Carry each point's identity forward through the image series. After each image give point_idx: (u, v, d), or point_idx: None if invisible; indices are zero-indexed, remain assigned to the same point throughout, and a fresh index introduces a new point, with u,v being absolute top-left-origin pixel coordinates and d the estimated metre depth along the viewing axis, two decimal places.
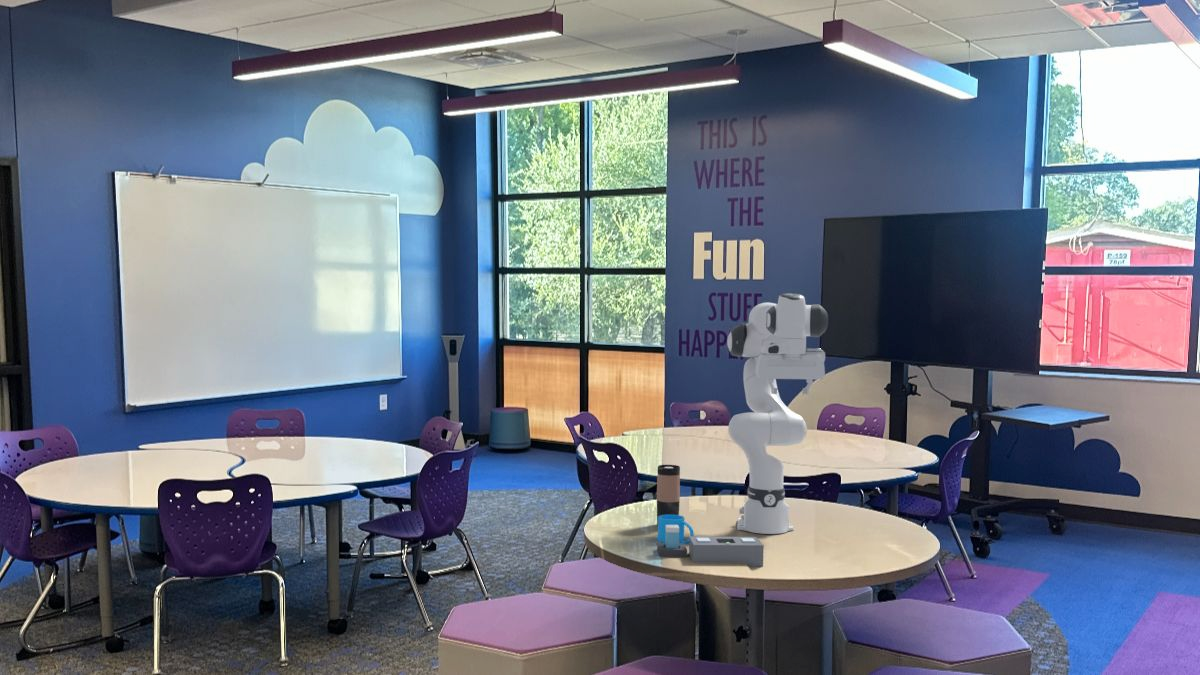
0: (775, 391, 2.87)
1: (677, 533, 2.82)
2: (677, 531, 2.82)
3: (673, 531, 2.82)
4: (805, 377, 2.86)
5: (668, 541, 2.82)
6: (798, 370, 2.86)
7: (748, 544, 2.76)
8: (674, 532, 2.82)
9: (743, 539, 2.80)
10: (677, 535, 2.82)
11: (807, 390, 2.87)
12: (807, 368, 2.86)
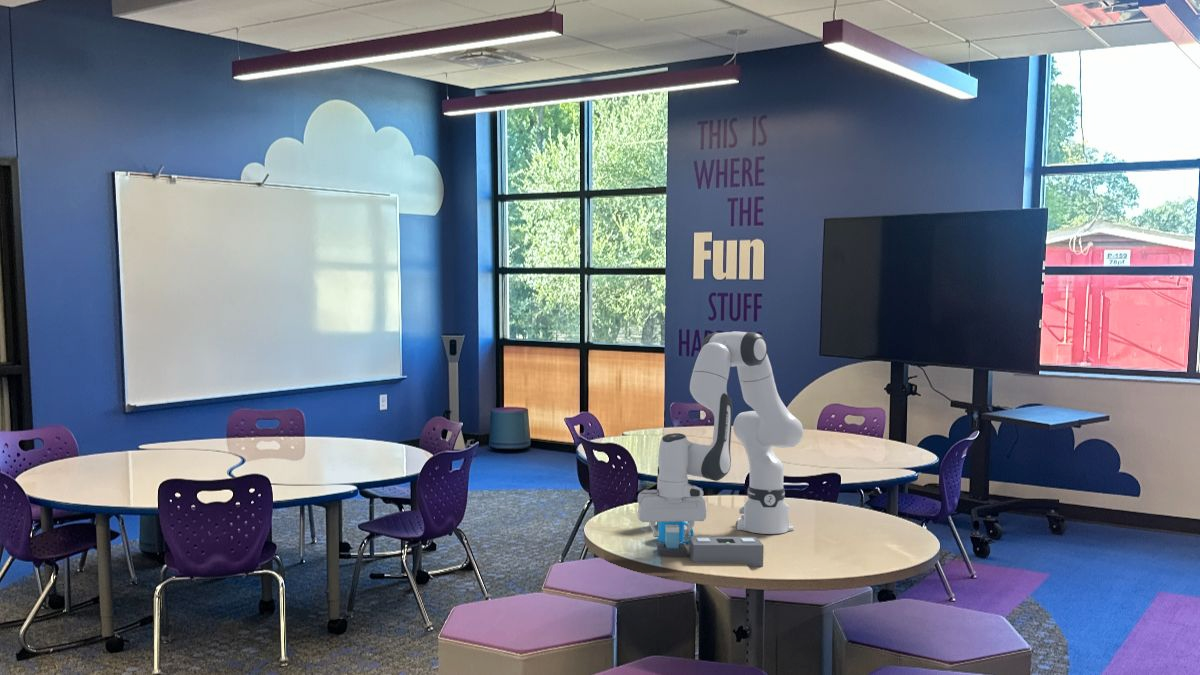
0: None
1: (677, 533, 2.82)
2: (677, 531, 2.82)
3: (673, 531, 2.82)
4: None
5: (668, 541, 2.82)
6: None
7: (748, 544, 2.76)
8: (674, 532, 2.82)
9: (743, 539, 2.80)
10: (677, 535, 2.82)
11: None
12: None
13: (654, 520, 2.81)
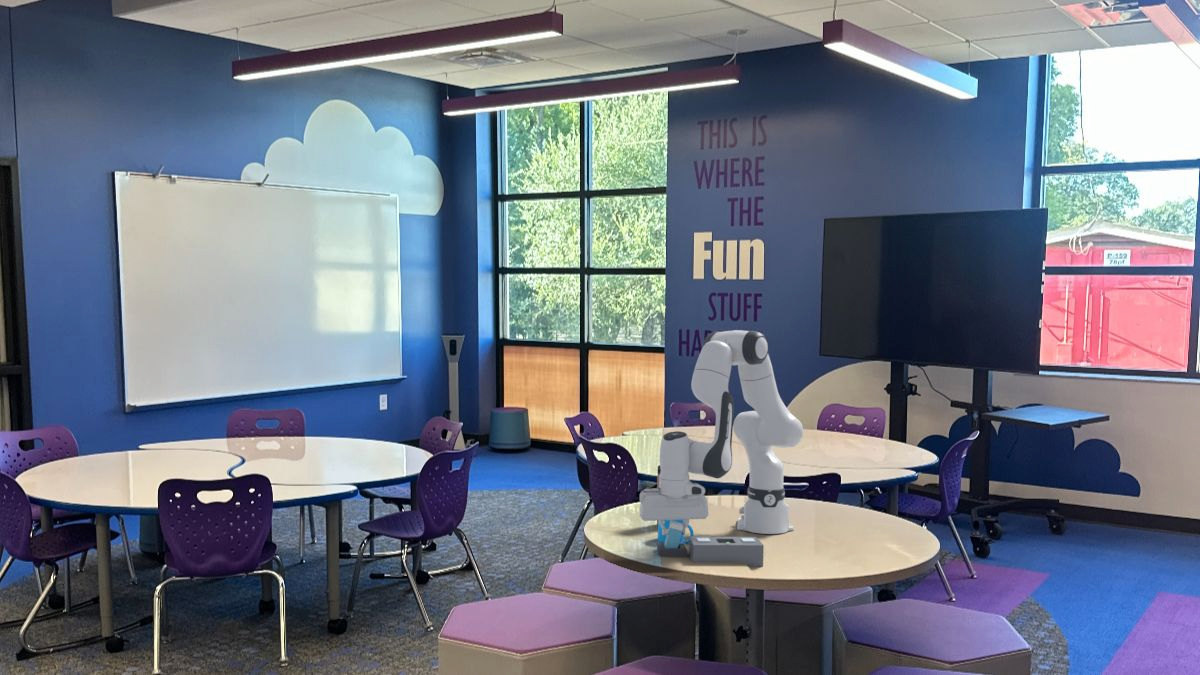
0: None
1: (680, 531, 2.82)
2: (681, 529, 2.82)
3: (677, 528, 2.82)
4: None
5: (670, 537, 2.82)
6: None
7: (748, 544, 2.76)
8: (677, 529, 2.82)
9: (743, 539, 2.80)
10: (679, 533, 2.82)
11: None
12: None
13: (656, 519, 2.81)
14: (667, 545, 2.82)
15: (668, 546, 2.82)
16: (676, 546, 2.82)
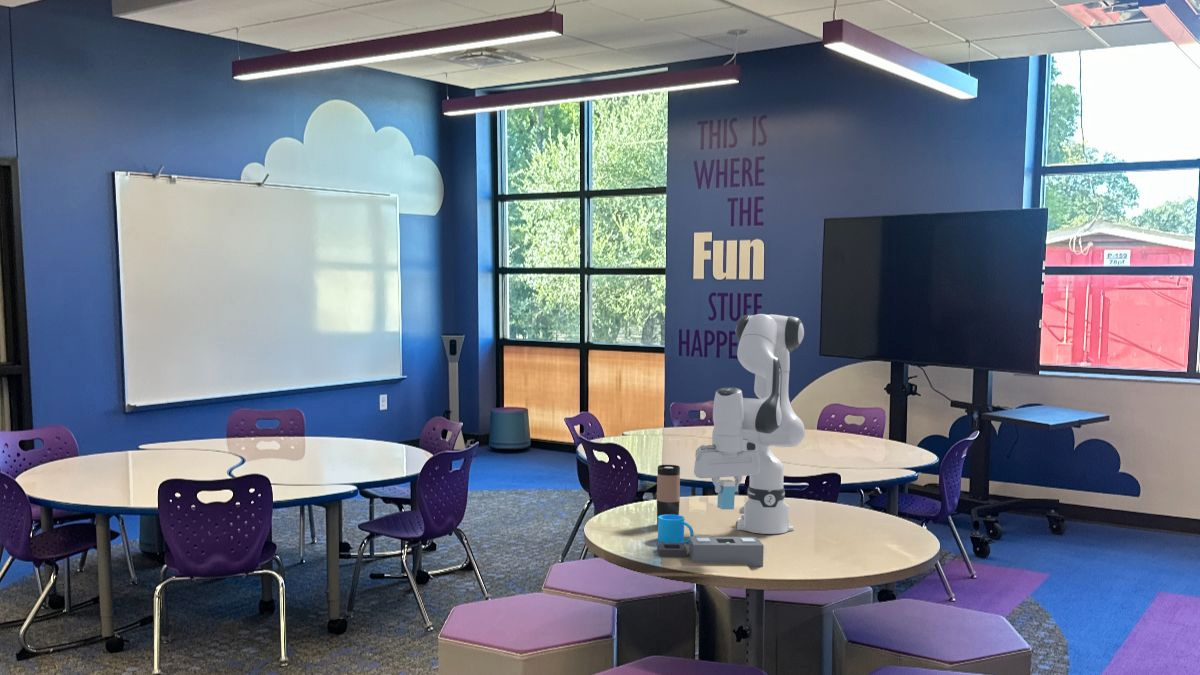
0: None
1: (733, 487, 2.78)
2: (733, 485, 2.78)
3: (729, 485, 2.77)
4: None
5: (724, 495, 2.77)
6: None
7: (748, 544, 2.76)
8: (730, 486, 2.78)
9: (743, 539, 2.80)
10: (733, 489, 2.78)
11: None
12: None
13: (712, 476, 2.75)
14: (723, 505, 2.77)
15: (725, 505, 2.77)
16: (732, 503, 2.78)
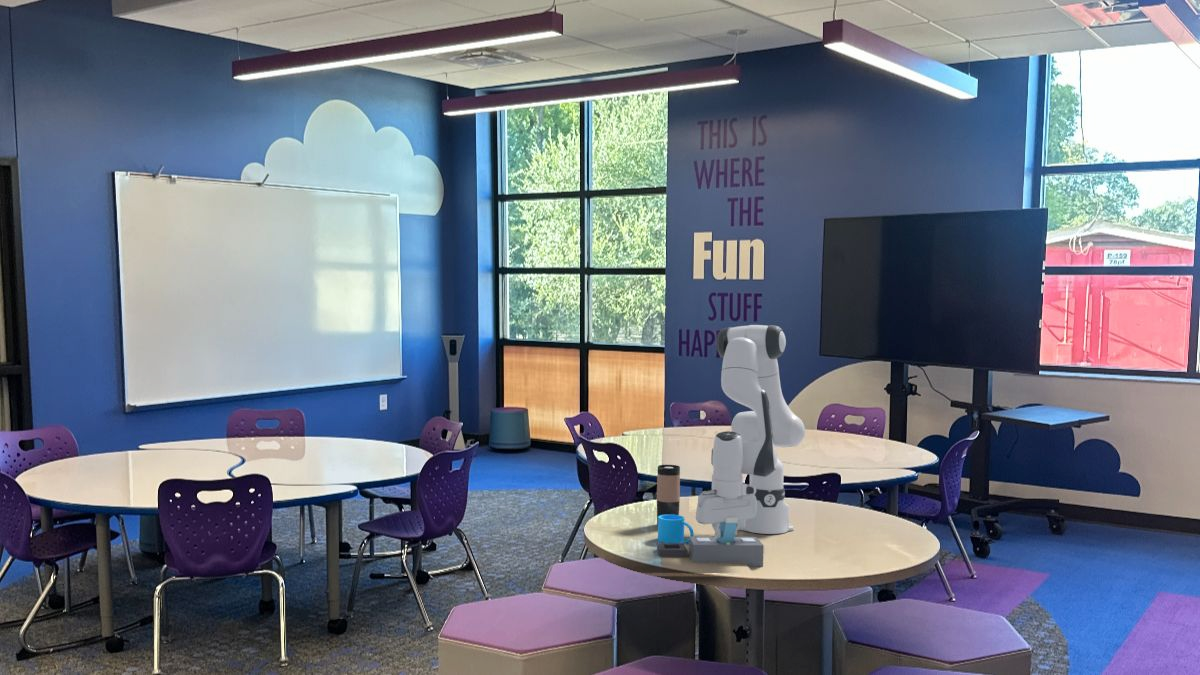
0: None
1: (735, 523, 2.77)
2: (735, 521, 2.77)
3: (732, 521, 2.77)
4: None
5: (726, 531, 2.77)
6: None
7: (748, 544, 2.76)
8: (732, 522, 2.77)
9: (743, 539, 2.80)
10: (734, 525, 2.78)
11: None
12: None
13: (715, 521, 2.75)
14: (724, 540, 2.77)
15: (725, 540, 2.77)
16: (732, 538, 2.78)
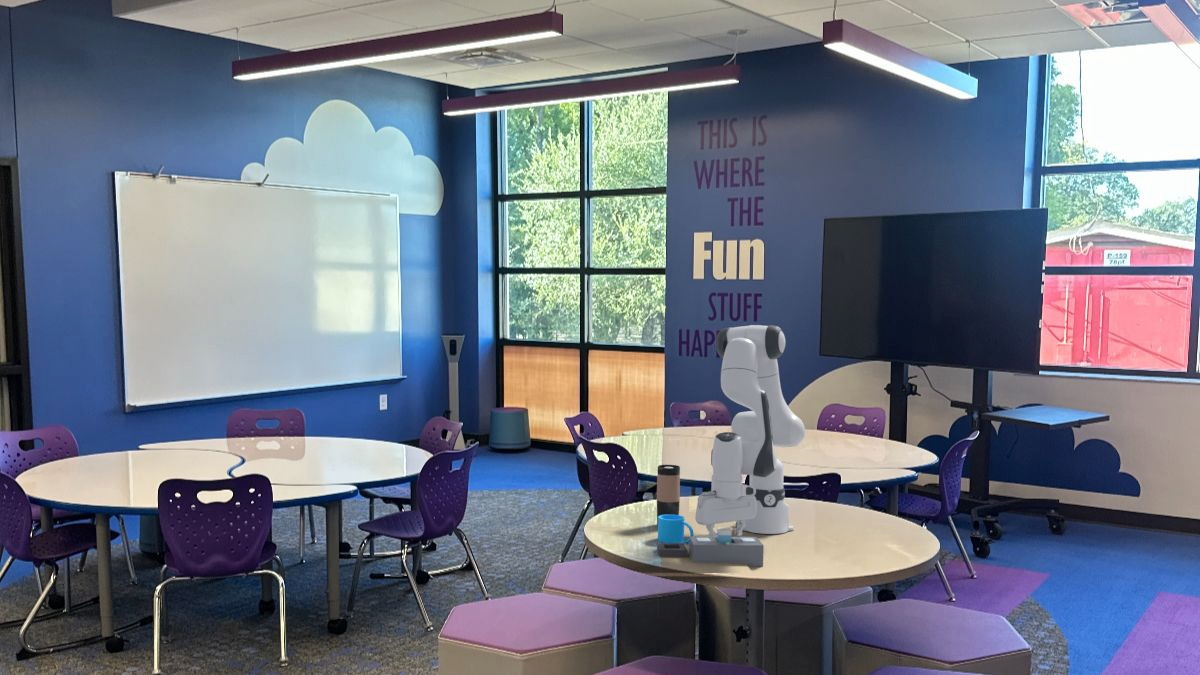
0: None
1: (729, 536, 2.78)
2: (729, 534, 2.78)
3: (725, 534, 2.78)
4: None
5: None
6: None
7: (748, 544, 2.76)
8: (726, 535, 2.78)
9: (743, 539, 2.80)
10: (729, 538, 2.78)
11: None
12: None
13: (714, 522, 2.75)
14: None
15: None
16: None
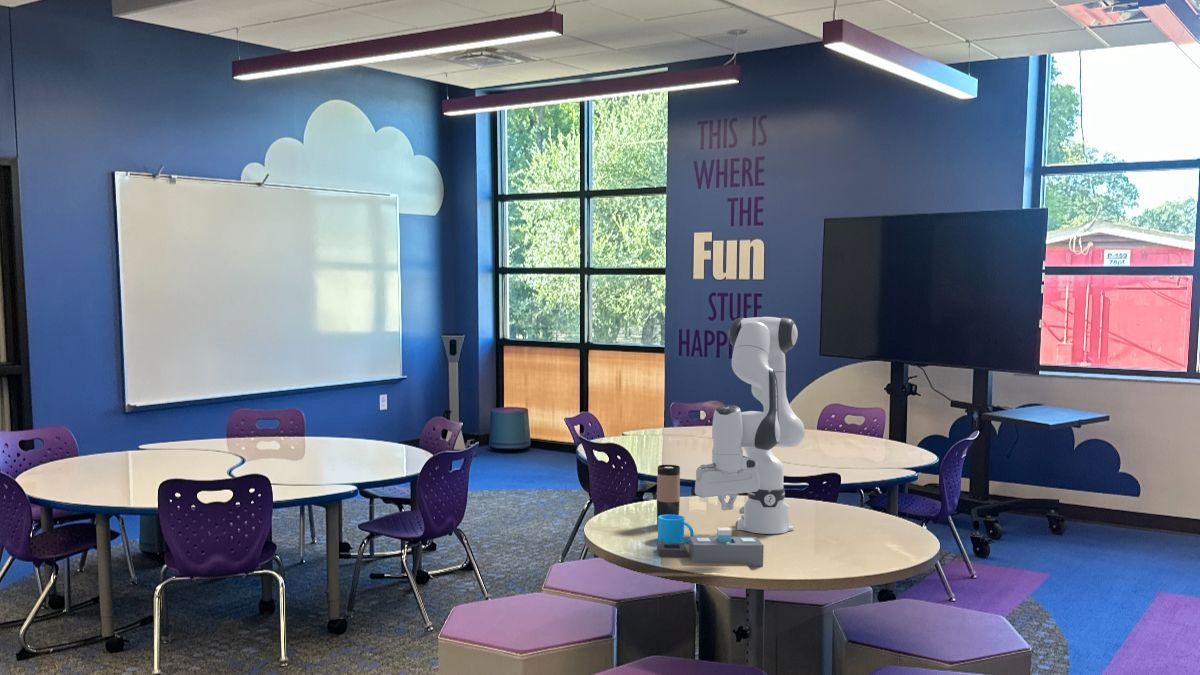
0: None
1: (729, 536, 2.78)
2: (729, 534, 2.78)
3: (725, 534, 2.78)
4: None
5: None
6: None
7: (748, 544, 2.76)
8: (726, 535, 2.78)
9: (743, 539, 2.80)
10: (729, 538, 2.78)
11: None
12: None
13: (713, 495, 2.75)
14: None
15: None
16: None
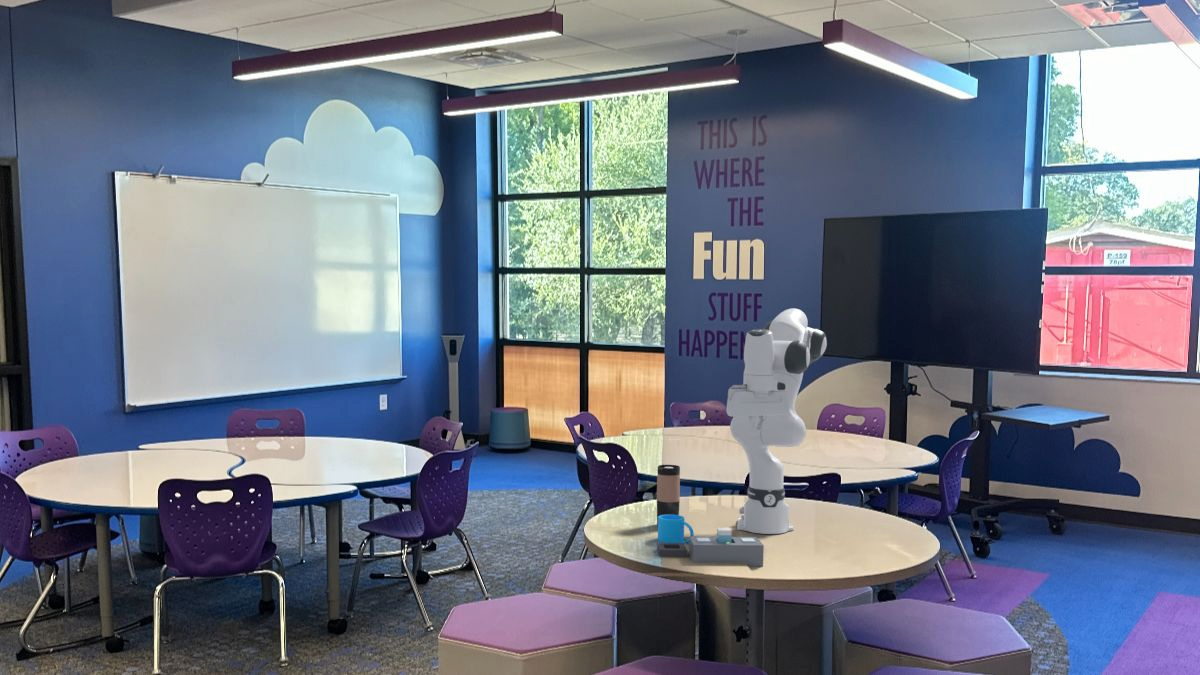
0: None
1: (729, 536, 2.78)
2: (729, 534, 2.78)
3: (725, 534, 2.78)
4: None
5: None
6: None
7: (748, 544, 2.76)
8: (726, 535, 2.78)
9: (743, 539, 2.80)
10: (729, 538, 2.78)
11: None
12: None
13: (744, 414, 2.82)
14: None
15: None
16: None
